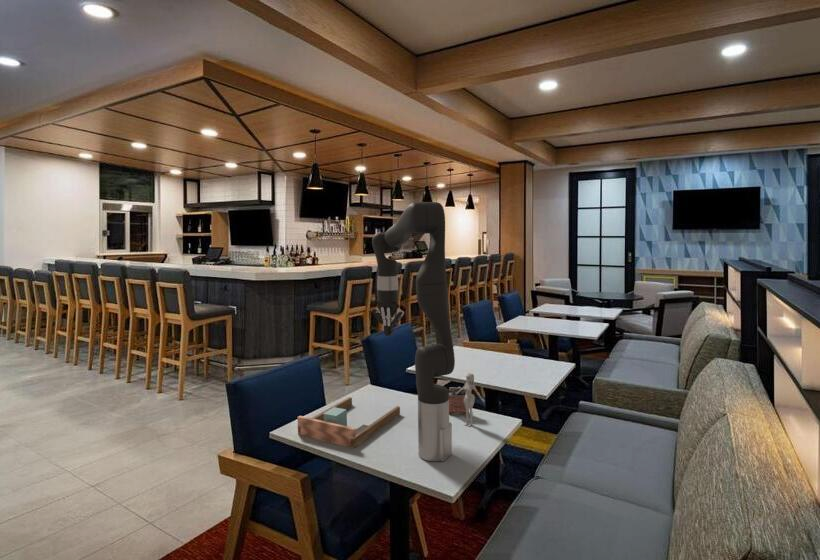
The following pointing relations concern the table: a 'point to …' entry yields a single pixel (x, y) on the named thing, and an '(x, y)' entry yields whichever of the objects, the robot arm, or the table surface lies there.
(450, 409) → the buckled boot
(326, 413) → the block
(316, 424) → the lane box
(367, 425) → the trap pads
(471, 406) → the human figurine
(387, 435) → the table surface
